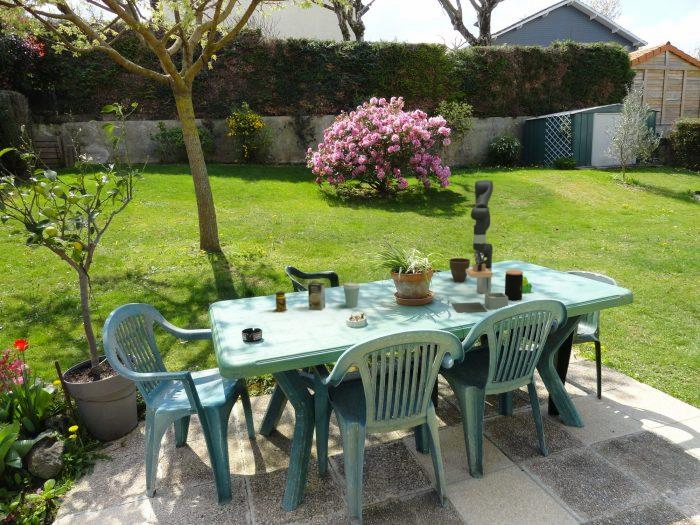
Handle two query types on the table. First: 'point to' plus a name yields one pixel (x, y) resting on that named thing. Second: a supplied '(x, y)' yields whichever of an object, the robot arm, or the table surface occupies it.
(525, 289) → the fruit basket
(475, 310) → the rubber mat
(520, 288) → the coffee jar
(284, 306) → the condiment
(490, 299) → the storage box
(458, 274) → the plant pot
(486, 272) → the lid
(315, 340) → the table surface
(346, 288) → the disposable coffee cup
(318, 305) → the coffee box
